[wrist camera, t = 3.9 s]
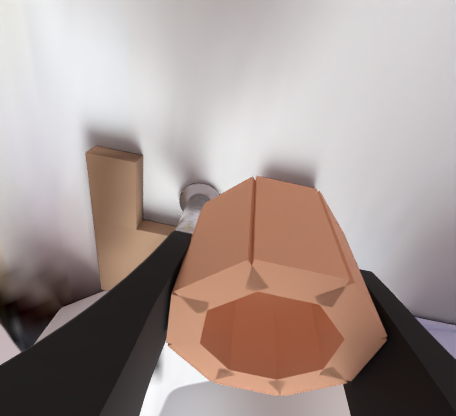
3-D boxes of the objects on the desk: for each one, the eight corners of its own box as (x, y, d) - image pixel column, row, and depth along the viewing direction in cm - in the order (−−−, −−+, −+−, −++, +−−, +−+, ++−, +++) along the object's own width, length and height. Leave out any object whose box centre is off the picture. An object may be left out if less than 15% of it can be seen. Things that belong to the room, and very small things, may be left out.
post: (224, 187, 18) (211, 240, 13) (218, 222, 19) (204, 281, 15) (182, 179, 18) (154, 229, 13) (179, 214, 19) (152, 270, 15)
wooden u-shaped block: (315, 190, 17) (318, 199, 16) (267, 310, 24) (268, 322, 22) (95, 145, 17) (85, 152, 16) (108, 278, 23) (101, 289, 22)
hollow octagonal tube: (363, 198, 9) (426, 295, 6) (309, 300, 12) (329, 406, 8) (209, 165, 9) (177, 242, 6) (191, 275, 12) (162, 372, 8)
